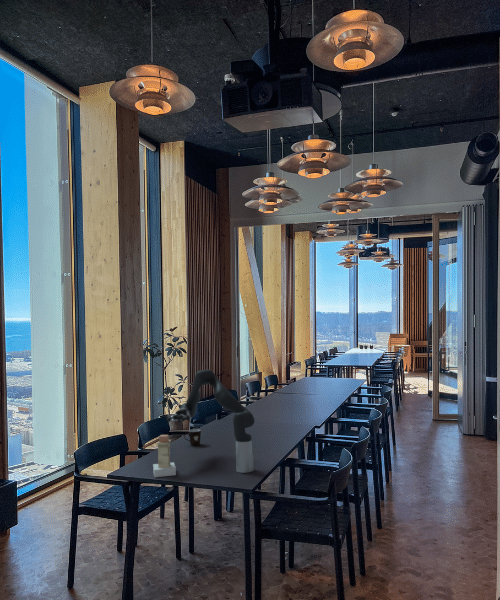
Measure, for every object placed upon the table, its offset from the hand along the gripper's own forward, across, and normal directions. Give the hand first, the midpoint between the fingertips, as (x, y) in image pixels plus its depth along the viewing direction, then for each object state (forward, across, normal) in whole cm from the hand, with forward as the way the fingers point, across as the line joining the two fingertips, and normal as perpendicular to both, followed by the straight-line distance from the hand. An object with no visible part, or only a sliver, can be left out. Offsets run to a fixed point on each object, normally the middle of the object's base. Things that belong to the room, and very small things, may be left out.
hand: (175, 420), depth 294 cm
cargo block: (+11, -4, +10) cm, 15 cm away
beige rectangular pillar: (+11, -4, +24) cm, 27 cm away
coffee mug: (-54, -2, +28) cm, 61 cm away
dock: (+11, -4, +28) cm, 30 cm away
